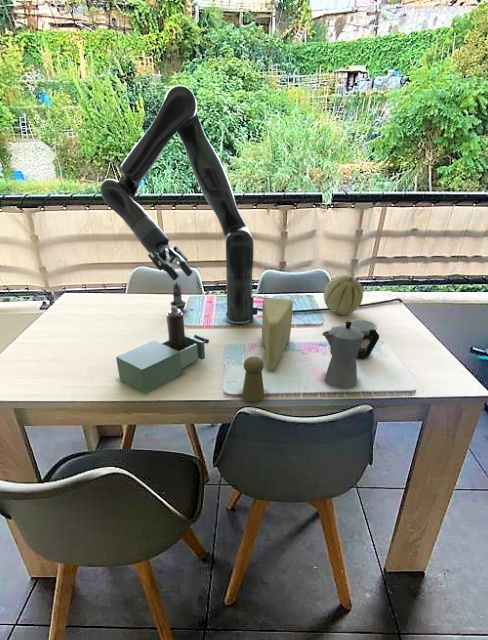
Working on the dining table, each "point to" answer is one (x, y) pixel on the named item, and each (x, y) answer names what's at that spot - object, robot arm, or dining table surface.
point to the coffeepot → (346, 353)
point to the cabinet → (149, 366)
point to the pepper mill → (176, 329)
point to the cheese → (276, 328)
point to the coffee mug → (366, 340)
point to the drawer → (191, 349)
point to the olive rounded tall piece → (253, 379)
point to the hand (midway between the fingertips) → (183, 276)
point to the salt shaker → (178, 298)
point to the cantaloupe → (343, 294)
